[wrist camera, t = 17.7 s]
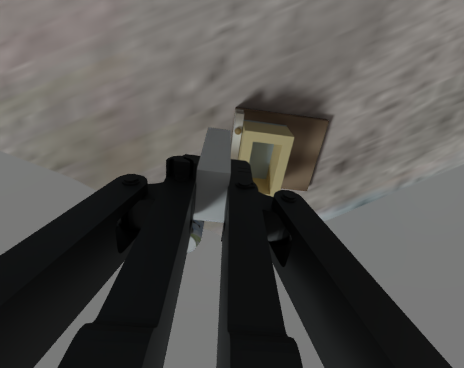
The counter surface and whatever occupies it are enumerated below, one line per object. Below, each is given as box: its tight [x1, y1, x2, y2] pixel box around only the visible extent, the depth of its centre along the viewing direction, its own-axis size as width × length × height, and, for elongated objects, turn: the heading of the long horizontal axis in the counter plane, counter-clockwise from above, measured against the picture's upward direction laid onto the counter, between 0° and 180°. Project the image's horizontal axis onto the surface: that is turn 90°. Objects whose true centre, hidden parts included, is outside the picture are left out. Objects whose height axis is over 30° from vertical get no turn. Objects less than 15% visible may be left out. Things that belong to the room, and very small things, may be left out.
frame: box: [238, 120, 294, 197], centre depth 40 cm, size 11×7×6 cm, turn 172°
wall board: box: [231, 107, 329, 191], centre depth 41 cm, size 13×15×5 cm
